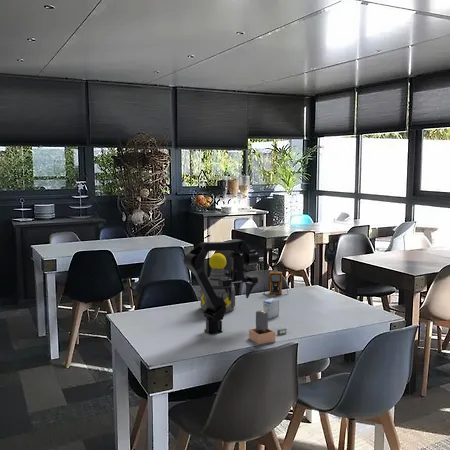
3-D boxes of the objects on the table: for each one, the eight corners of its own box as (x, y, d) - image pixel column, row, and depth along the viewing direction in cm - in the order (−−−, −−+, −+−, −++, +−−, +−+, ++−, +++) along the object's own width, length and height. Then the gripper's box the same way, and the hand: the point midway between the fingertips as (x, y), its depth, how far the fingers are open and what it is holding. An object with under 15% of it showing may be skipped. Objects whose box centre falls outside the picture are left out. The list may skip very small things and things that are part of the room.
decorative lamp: (242, 310, 261) (242, 253, 258) (212, 315, 250) (212, 257, 247) (222, 302, 276) (222, 249, 273) (193, 307, 265) (193, 252, 262)
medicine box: (271, 314, 252) (272, 297, 251) (279, 316, 249) (279, 299, 248) (263, 317, 246) (263, 300, 245) (270, 319, 243) (270, 302, 242)
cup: (258, 345, 206) (258, 334, 206) (248, 339, 213) (248, 329, 213) (275, 342, 210) (275, 331, 209) (265, 336, 217) (265, 326, 217)
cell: (255, 341, 209) (256, 312, 208) (255, 337, 214) (255, 309, 213) (268, 341, 209) (268, 312, 208) (267, 337, 214) (267, 309, 213)
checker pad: (273, 337, 216) (273, 331, 216) (261, 330, 225) (261, 325, 225) (292, 333, 221) (292, 328, 221) (279, 327, 230) (279, 322, 230)
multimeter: (262, 296, 290) (262, 262, 288) (263, 292, 300) (264, 260, 298) (287, 297, 287) (287, 263, 285) (288, 293, 297) (288, 260, 295)
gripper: (247, 262, 241) (247, 293, 242) (212, 265, 233) (213, 297, 234) (259, 265, 231) (258, 298, 233) (223, 269, 223) (223, 303, 224)
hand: (238, 299), depth 231 cm, fingers open, 9 cm apart
